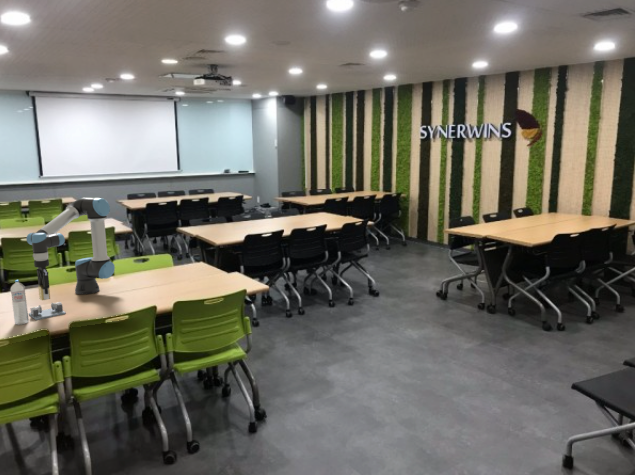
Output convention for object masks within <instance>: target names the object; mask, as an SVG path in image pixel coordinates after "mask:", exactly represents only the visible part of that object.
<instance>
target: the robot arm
mask: <svg viewBox="0 0 635 475" xmlns="http://www.w3.org/2000/svg"><path fill="white" fill-rule="evenodd" d="M110 207H111V206H110V203H109V202H108V200H107V199H105V198H103V197H101V198H100V197H80V198H78V199H77V200H75V201H72V202H71V203H70V204H69V205H67V206H66V208H65V209H64V210H63V211H62V212H61V213H59V214H58V215H57V216H56V217H54V218H53V219H52V220H50V221H49V222H48V223H47V224H45V225H44V226H42V227H41V228H39V229H38V230H37V231H35V232H29V233H28V234H27V235H26V242H27V244H29V245H31V246H32V253H33V254H32V258H33V260H34V261H33V266H34V267H35V268H36V274H37V282H38V284H37V285H38V286H40V285H43V288H42V289H43V295H44V300H43V301H47V300H50V299H49V291H48V288H49V289H50V279H49V278H50V277H49V271H48V269H47V267H49V266H50V261H49V251H48V249H50V248H55V247H60V246H62V245H63V244H65V241H66V238H65V235H63V234H62V233H60V232H59V231H60V230H62V229H63V228H64V227H66V226H67V225H68V224H69V223H71V222H72V221H73V220H75V219H78V218H80V217H82V216H87V217H86V218H87V220H88V221H89V222H90V233H91V243H92V244H91V245H92V254H93V256H91V257H85V258H84V257H83V258H80V259H76V261H75V263H74V264H75V266H74V268H75V275H76V285H75V287H74V292H75V294H77V295H90V294H95V293H98V292H99V291H100V285H99V284H98V281H97V279H100V280H103V279H104V280H106V279H109V278H111V277H113V274H114V272H115V268H116V267H115V264H114V263H113V262H112V261H111V257H109V256H108V249H107V248H108V247H107V235H106V234H107V233H106V224H105V220H106V219H107V216H108V215H109V214H110V211H111V209H110ZM46 299H47V300H46Z"/></svg>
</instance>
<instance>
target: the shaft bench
mask: <svg viewBox="0 0 635 475" xmlns="http://www.w3.org/2000/svg"><path fill="white" fill-rule="evenodd" d="M29 310H30V312H28V316H30V317H31V318H32V319H33V320H35V321H40V320H44V319H45V320H46V319H49V318H53V316H54V317H57V315H58V316H62V315H65V314H67V313H66V311H64V307H63V303H62V302H61V301H58V302H51V303H50V308H47V309H43V308H42V306H41V305H38V306H35V307H34V306H33V307H30V309H29Z"/></svg>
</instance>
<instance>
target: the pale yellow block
mask: <svg viewBox="0 0 635 475" xmlns="http://www.w3.org/2000/svg"><path fill="white" fill-rule="evenodd" d="M42 288H43V285H40V286H39V285H38V288H37V289H38V295H39V299H40V301H47V300H51V293H50V292H51V291H50V287H49V288H48V291H49V299H46V300H44V295H43V289H42Z"/></svg>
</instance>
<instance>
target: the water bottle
mask: <svg viewBox="0 0 635 475" xmlns="http://www.w3.org/2000/svg"><path fill="white" fill-rule="evenodd" d="M19 280H20V279H16V280H15V279H14V282H15V283H13V284H12V285H11V286H10V292H11V301H12V302H11V303H12V312H13V319H14V324H15V325H17V326H22V325H25V324H28V323H29V311H28V303H27V296H26V286H25V285H24V284H23V283H21V282H20V281H19Z"/></svg>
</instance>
